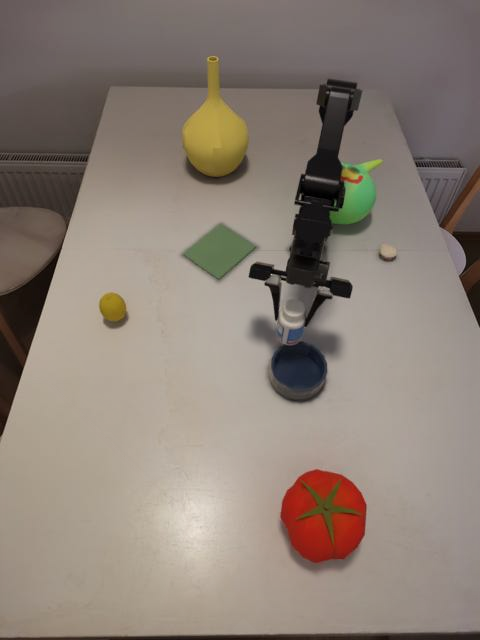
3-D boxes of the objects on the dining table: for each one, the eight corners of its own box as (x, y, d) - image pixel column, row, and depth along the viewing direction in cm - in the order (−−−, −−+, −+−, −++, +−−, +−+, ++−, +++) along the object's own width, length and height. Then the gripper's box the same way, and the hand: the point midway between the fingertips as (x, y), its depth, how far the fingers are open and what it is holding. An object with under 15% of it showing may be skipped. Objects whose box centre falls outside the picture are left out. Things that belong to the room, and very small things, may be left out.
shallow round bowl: (291, 342, 94) (293, 331, 90) (333, 373, 90) (338, 363, 86) (258, 377, 89) (259, 367, 85) (302, 411, 85) (305, 402, 81)
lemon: (124, 329, 95) (116, 309, 88) (100, 325, 95) (90, 304, 89) (132, 309, 98) (125, 288, 91) (109, 305, 98) (100, 283, 92)
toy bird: (293, 223, 114) (301, 177, 101) (312, 184, 122) (321, 138, 110) (360, 243, 110) (376, 198, 98) (374, 202, 119) (391, 155, 107)
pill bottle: (305, 329, 89) (313, 302, 80) (296, 350, 86) (303, 324, 78) (281, 319, 90) (286, 292, 81) (271, 339, 87) (275, 313, 79)
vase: (259, 160, 128) (266, 54, 103) (225, 195, 119) (223, 88, 94) (208, 139, 133) (203, 33, 108) (172, 171, 124) (157, 64, 99)
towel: (220, 224, 113) (220, 223, 113) (255, 247, 109) (256, 246, 108) (183, 255, 107) (182, 253, 107) (218, 280, 103) (218, 278, 102)
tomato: (357, 487, 77) (376, 470, 68) (350, 576, 70) (370, 572, 60) (285, 469, 79) (292, 451, 69) (270, 555, 71) (276, 548, 62)
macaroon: (381, 262, 107) (384, 256, 105) (374, 248, 109) (377, 241, 107) (397, 260, 107) (401, 253, 105) (389, 245, 110) (393, 238, 108)
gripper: (252, 232, 72) (235, 321, 75) (365, 254, 69) (342, 345, 73) (260, 232, 82) (245, 310, 86) (358, 251, 80) (338, 330, 84)
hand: (290, 323), depth 82 cm, fingers closed on pill bottle, 5 cm apart
